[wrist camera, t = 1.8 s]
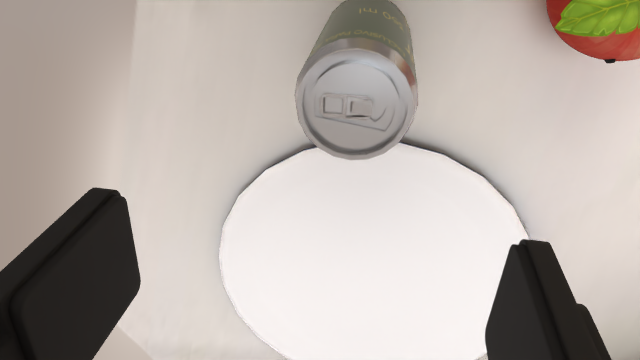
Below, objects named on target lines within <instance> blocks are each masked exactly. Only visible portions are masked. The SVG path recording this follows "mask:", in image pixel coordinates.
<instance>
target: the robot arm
mask: <svg viewBox="0 0 640 360" xmlns="http://www.w3.org/2000/svg"><path fill="white" fill-rule="evenodd" d="M140 282H141V280H140V273H139V268H138V262H137V256H136V251H135V245H134V240H133V234H132V228H131V223H130V217H129V212H128V206H127V201H126V199H125V198H124V197H122V196H121V195H120V193H119V192H118V191H117V190H111V189H102V188H92V189H90V190H89V191H88V192H87V193H86V194H85V195H84V196H82V197H81V198H80V199H79V200H78V201H77V202H76V203H75V204H74V205H73V206H71V207H70V208H69V209H68V210H67V211H66V212H65V213H64V214H63V215H62V216H61V217H60V218H58V220H56V221H55V222H54V223H53V224H52V225H51V226H50V227H49V228H47V229H46V230H45V231H44V232H43V233H42V234H41V235H40V236H39V237H38V238H37V239H35V240H34V241H33V242H32V243H31V244H30V245H29V246H28V247H27V248H26V249H25V250H23V252H21V253H20V254H19V255H18V256H17V257H16V258H15V259H14V260H13V261H11V262H10V263H9V264H8V265H7V266H6V267H5V268H4V269H3V270H2V271H1V272H0V360H92V359H93V358H94V356H95V355H96V353H97V352H98V351H99V349H100V347H101V346H102V345H103V343H104V341H105V340H106V339H107V337H108V336H109V334H110V333H111V331H112V330H113V328H114V327H115V325H116V324H117V323H118V321H119V320H120V318H121V317H122V315H123V314H124V312H125V311H126V309H127V308H128V306H129V305H130V303H131V302H132V300H133V299H134V297H135V296H136V294H137V293H138V291H139V288H140ZM485 344H486V350H487V355H488V360H611V358H610V355H609V353H608V351H607V349H606V347H605V345H604V342H603V340H602V338H601V336H600V334H599V332H598V330H597V327H596V325H595V323H594V321H593V319H592V317H591V315H590V312H589V311H588V309H587V308H586V307H585V306H584V305H582V304H577V303H576V301H575V299H574V296H573V294H572V292H571V289H570V287H569V285H568V283H567V280H566V278H565V276H564V274H563V271H562V269H561V267H560V265H559V262H558V260H557V258H556V256H555V253H554V251H553V249H552V247H551V245H550V243H549V242H544V241H536V240H527V239H522V240H521V241H520V242H519V245H517V244H512V245H511V247H510V249H509V253H508V256H507V259H506V262H505V266H504V269H503V272H502V276H501V279H500V282H499V285H498V289H497V292H496V295H495V299H494V302H493V305H492V308H491V312H490V315H489V318H488V322H487V325H486V329H485Z"/></svg>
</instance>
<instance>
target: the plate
mask: <svg viewBox="0 0 640 360" xmlns="http://www.w3.org/2000/svg"><path fill="white" fill-rule="evenodd" d="M522 239H527V240H529V238H528V236H527V234H526V232H525V230H524V228H523V226H522V224H521V222H520V220H519V218H518V216H517V214H516V212H515V210H514V208H513V206H512V205H511V204H510V203H509V202H508V201H507V200H506V199H505V198H504V197H503V196H502V195H501V194H500V193H499V192H498V191H497V190H496V189H495V188H494V187H493V186H492V185H491V184H490V183H489V182H488V181H487V180H486V179H485V178H484V177H483V176H482V175H480V174H478V173H477V172H475V171H473V170H471V169H470V168H468V167H466V166H464V165H462V164H461V163H459V162H457V161H455V160H454V159H452V158H450V157H448V156H446V155H445V154H443V153H439V152H435V151H432V150H428V149H424V148H420V147H417V146H413V145H409V144H406V143H402V142H399V143H398V144H397V145H395V146H394V147H392V148H391V149H390V150H388V151H387V152H386V153H384V154H382V155H379V156H376V157H373V158H370V159H365V160H347V159H343V158H338V157H334V156H332V155H330V154H328V153H326V152H325V151H323V150H321V149H319V148H318V147H314V148H309V149H305V150H302V151H301V152H299V153H297V154H295V155H293V156H291V157H289V158H287V159H285V160H283V161H281V162H279V163H277V164H275V165H273V166H271V167H269V168H267V169H266V170H265V171H264V172H263V173H262V174H261V175H260V176H259V177H258V178H257V179H256V180H254V181H253V182H252V183H251V184H250V185H249V186H248V187H247V188H246V189H245V190H244V191H243V192H242V193H241V194H240V195H239V197H238V199H237V200H236V202H235V204H234V206H233V208H232V210H231V212H230V213H229V215H228V217H227V219H226V221H225V223H224V225H223V230H222V236H221V242H220V249H219V255H218V257H219V263H220V269H221V274H222V280H223V286H224V288H225V290H226V292H227V294H228V296H229V298H230V300H231V302H232V304H233V306H234V308H235V310H236V312H237V314H238V315H239V316H240V317H241V318H242V320H243V321H244V322H245V323H246V324H247V325H248V326H249V328H250V329H251V330H252V331H253V332H254V333H255V334H256V336H257V337H258V338H259V339H261V340H262V341H263V342H265V343H266V344H268V345H269V346H270V347H272V348H273V349H274V350H276V351H277V352H279V353H280V354H281V355H283V356H284V357H285V358H287V359H289V360H476V359H478V358H480V357H482V356H484V355H485V354H486V353H487V350H486V344H485V329H486V325H487V322H488V318H489V315H490V312H491V308H492V305H493V302H494V299H495V295H496V292H497V289H498V285H499V282H500V279H501V276H502V272H503V269H504V266H505V262H506V259H507V256H508V253H509V249H510V247H511V245H512V244H517V245H519V242H520V241H521V240H522Z"/></svg>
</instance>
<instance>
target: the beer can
mask: <svg viewBox="0 0 640 360" xmlns="http://www.w3.org/2000/svg"><path fill="white" fill-rule="evenodd" d="M295 101H296V108H297V114H298V120H299V123H300V124H301V126H302V128H303V130H304V132H305V134H306V136H307V137H308V138H309V139H310V140H311V141H312V142H313V143H314V144H315V145H316V146H317V147H318V148H319V149H321V150H323V151H325V152H326V153H328V154H330V155H332V156H334V157H338V158H343V159H347V160H365V159H370V158H373V157H376V156H379V155H382V154H384V153H386V152H387V151H388V150H390V149H391V148H392V147H394V146H395V145H397V144H398V143H399V141H400V140H401V139H402V137H403V136H404V135H405V133H406V132H407V130H408V129H409V126H410V125H411V123H412V122H413V119H414V115H415V112H416V109H417V106H418V89H417V79H416V72H415V64H414V57H413V50H412V42H411V35H410V29H409V26H408V24H407V21H406V18H405V16H404V15H403V14H402V12H401V11H400V10H399V9H398V7H397V6H396V5H394V4H393V3H391V2H389V1H388V0H347V1H345V2H343V3H342V4H340V5H339V6H338V7H337V8H336V9H335V10H334V11H333V12H332V14H331V16H330V17H329V19H328V21H327V23H326V25H325V27H324V29H323V30H322V32H321V34H320V36H319V38H318V40H317V42H316V44H315V46H314V47H313V49H312V51H311V53H310V55H309V57H308V59H307V61H306V62H305V64H304V66H303V68H302V70H301V72H300V74H299V76H298V78H297V84H296V90H295Z"/></svg>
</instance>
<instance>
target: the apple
mask: <svg viewBox="0 0 640 360" xmlns="http://www.w3.org/2000/svg"><path fill="white" fill-rule="evenodd" d="M546 5H547V12H548V16H549V19H550V22H551V24H552V26H553V28H554V30H555V31H556V33H557V34H558V35H559V36H560V38H561V39H562V40H563V41H564V42H565V43H567V44H568V45H569V46H571V47H572V48H574V49H575V50H577V51H579V52H581V53H583V54H585V55H588V56H591V57H594V58H598V59H602V60H605V62H606V63H614V62H615V61H628V60H634V59H639V58H640V0H546Z"/></svg>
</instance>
